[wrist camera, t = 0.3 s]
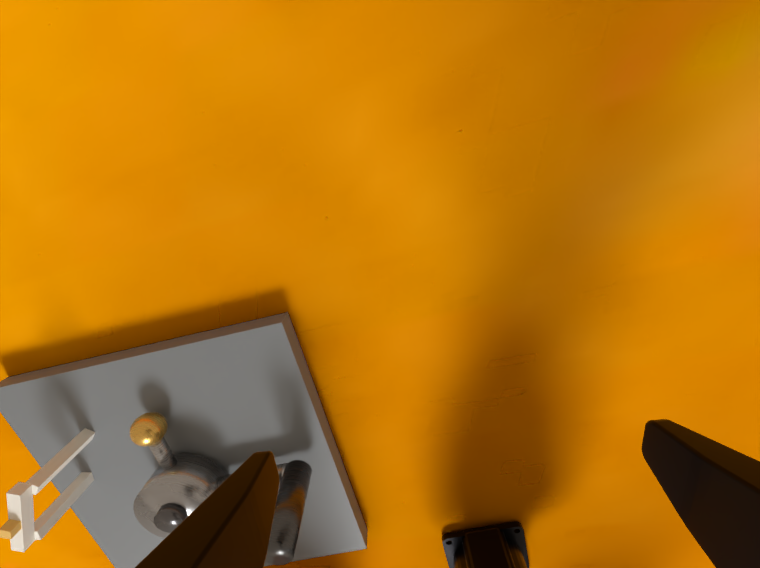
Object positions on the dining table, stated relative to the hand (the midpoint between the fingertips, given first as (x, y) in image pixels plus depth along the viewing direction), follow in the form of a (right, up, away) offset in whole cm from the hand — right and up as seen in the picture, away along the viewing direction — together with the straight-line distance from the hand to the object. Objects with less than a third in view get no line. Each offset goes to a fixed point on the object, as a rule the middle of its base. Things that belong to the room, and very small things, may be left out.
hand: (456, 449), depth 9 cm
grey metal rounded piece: (-12, -7, +16) cm, 21 cm away
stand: (-15, -9, +18) cm, 25 cm away
